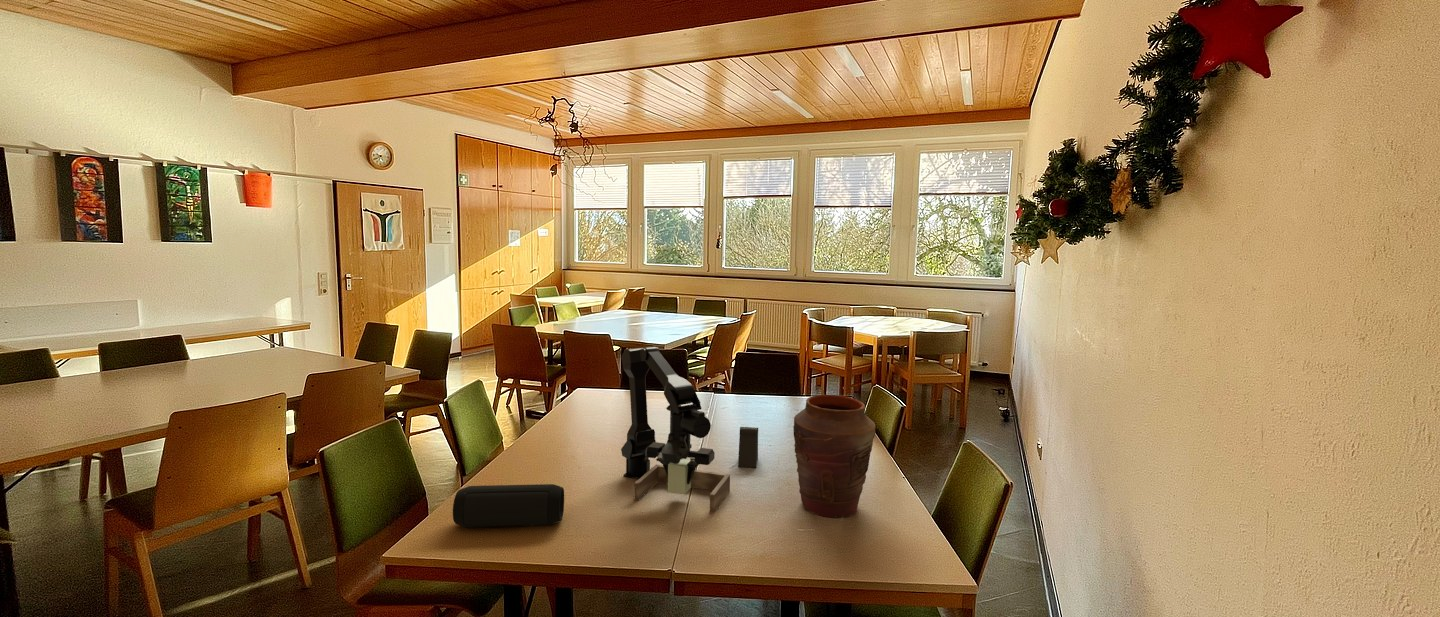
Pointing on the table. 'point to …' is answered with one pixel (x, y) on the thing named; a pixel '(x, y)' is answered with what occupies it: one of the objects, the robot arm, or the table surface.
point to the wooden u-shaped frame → (699, 480)
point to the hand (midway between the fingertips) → (679, 482)
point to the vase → (832, 453)
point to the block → (678, 477)
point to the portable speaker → (508, 505)
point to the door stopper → (748, 447)
